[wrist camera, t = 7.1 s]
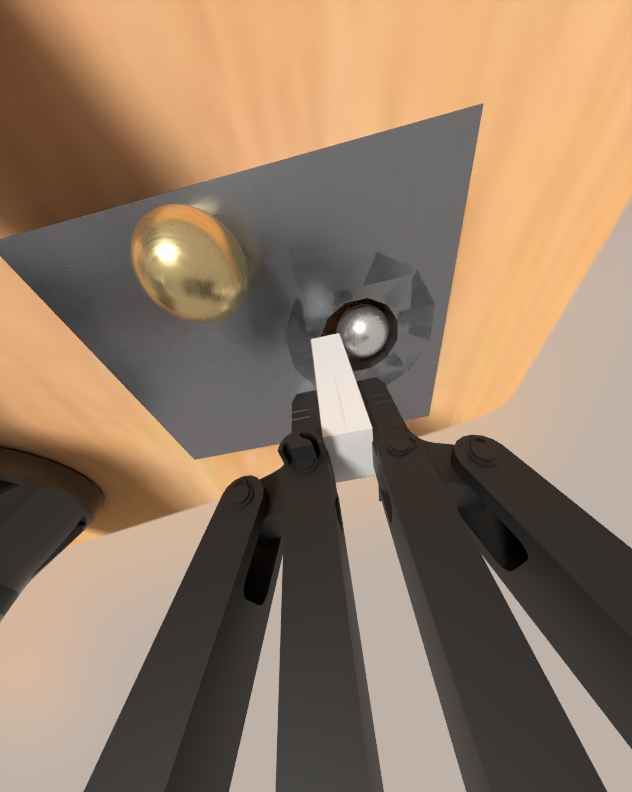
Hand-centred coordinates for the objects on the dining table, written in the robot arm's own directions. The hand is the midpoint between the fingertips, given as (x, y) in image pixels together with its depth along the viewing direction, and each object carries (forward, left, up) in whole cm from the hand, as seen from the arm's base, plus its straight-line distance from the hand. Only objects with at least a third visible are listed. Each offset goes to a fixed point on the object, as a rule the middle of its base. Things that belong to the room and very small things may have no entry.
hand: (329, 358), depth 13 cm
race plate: (-3, 0, -4) cm, 5 cm away
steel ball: (+2, 0, -2) cm, 3 cm away
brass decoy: (-5, +6, 0) cm, 7 cm away
